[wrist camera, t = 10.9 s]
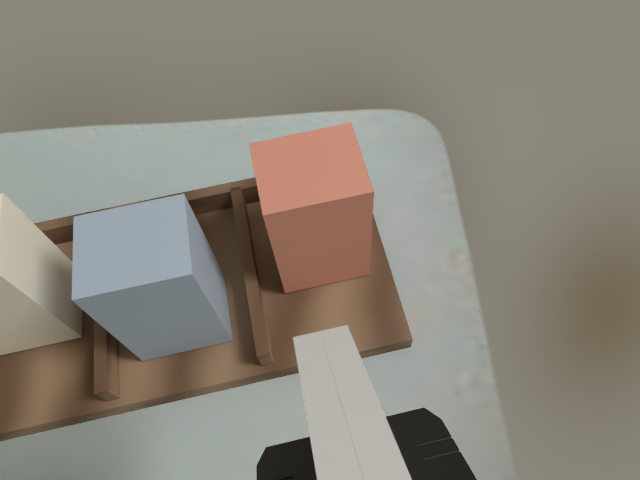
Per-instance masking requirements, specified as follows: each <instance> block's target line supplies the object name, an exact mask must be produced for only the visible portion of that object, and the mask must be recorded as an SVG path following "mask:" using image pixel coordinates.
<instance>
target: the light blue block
mask: <svg viewBox="0 0 640 480" xmlns="http://www.w3.org/2000/svg"><path fill="white" fill-rule="evenodd" d="M72 301H73V302H74V303H75V304H77V305H78V306H79V307H80V308H81V309H82V310H84V311H85V312H86V313H87V314H88V315H89V316H91V317H92V318H93V319H94V320H95V321H96V322H98V323H99V324H100V325H101V326H102V327H103V328H105V329H106V330H107V331H108V332H109V333H110V334H112V335H113V336H114V337H115V338H116V339H117V340H119V341H120V342H121V343H122V344H123V345H124V346H126V347H127V348H128V349H129V350H130V351H131V352H133V353H134V354H135V355H136V356H137V357H138V358H140V359H141V360H142V361H145V360H150V359H154V358H158V357H163V356H167V355H172V354H176V353H181V352H185V351H190V350H194V349H198V348H203V347H207V346H212V345H216V344H221V343H225V342H230V341H233V337H232V330H231V323H230V315H229V308H228V301H227V293H226V286H225V279H224V274H223V272H222V270H221V268H220V266H219V263H218V261H217V259H216V257H215V255H214V253H213V251H212V249H211V247H210V245H209V243H208V241H207V239H206V237H205V235H204V233H203V231H202V229H201V227H200V225H199V223H198V221H197V219H196V217H195V215H194V213H193V211H192V209H191V207H190V205H189V203H188V201H187V199H186V197H185V194H180V195H175V196H170V197H165V198H160V199H156V200H151V201H146V202H141V203H136V204H132V205H127V206H122V207H117V208H113V209H108V210H103V211H98V212H93V213H89V214H84V215H79V216H74V220H73V261H72Z"/></svg>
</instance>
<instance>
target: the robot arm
mask: <svg viewBox="0 0 640 480" xmlns="http://www.w3.org/2000/svg"><path fill="white" fill-rule="evenodd" d="M293 341H294V347H295V353H296V358H297V364H298V370H299V376H300V382H301V388H302V394H303V400H304V405H305V411H306V417H307V423H308V429H309V435H310V437H307V438H303V439H299V440H295V441H291V442H286V443H282V444H278V445H274V446H270V447H266V448H265V450H264V452H263V454H262V456H261V458H260V460H259V462H258V464H257V480H477V479H476V478H475V476H474V474H473V473H472V471H471V469H470V467H469V466H468V464H467V462H466V461H465V459H464V457H463V455H462V454H461V452H459V449H458V447H457V445H456V444H455V442H454V440H453V439H452V438H451V435H450V433H449V432H448V430H447V428H446V426H445V425H444V423H443V421H442V420H441V419H440V418H439V417H437V416H436V415H434V414H433V413H431V412H430V411H428V410H427V409H425V408H421V409H417V410H412V411H408V412H404V413H400V414H396V415H392V416H387V417H386V416H385V414H384V412H383V409H382V407H381V404H380V402H379V400H378V397H377V395H376V392H375V390H374V388H373V385H372V383H371V380H370V378H369V376H368V373H367V371H366V368H365V366H364V364H363V361H362V359H361V356H360V354H359V352H358V349H357V347H356V344H355V342H354V340H353V337H352V335H351V333H350V330H349V328H348V325H344V326H340V327H336V328H331V329H327V330H322V331H318V332H314V333H309V334H305V335H300V336H296V337H293Z"/></svg>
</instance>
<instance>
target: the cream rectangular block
mask: <svg viewBox="0 0 640 480" xmlns="http://www.w3.org/2000/svg"><path fill="white" fill-rule="evenodd" d="M81 337H82V309H81V308H80V307H79V306H78V305H77V304H75V303H74V302H73V301H72V261H71V260H70V259H69V258H68V257H67V256H66V255H65V254H64V253H63V252H62V251H61V250H60V249H59V248H58V247H57V246H56V245H55V244H54V243H53V242H52V241H51V240H50V239H49V238H48V237H47V236H46V235H45V234H44V233H43V232H42V231H41V230H40V229H39V228H38V227H37V226H36V225H35V224H34V223H33V222H32V221H31V220H30V219H29V218H28V217H27V216H26V215H25V214H24V213H22V212H21V211H20V210H19V209H18V208H17V207H16V206H15V205H14V204H13V203H12V202H11V201H10V200H9V199H8V198H7V197H6V196H5V195H4V194H3V193H1V194H0V355H4V354H9V353H13V352H18V351H22V350H27V349H31V348H36V347H40V346H45V345H49V344H54V343H58V342H63V341H67V340H72V339H77V338H81Z"/></svg>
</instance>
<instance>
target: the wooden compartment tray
mask: <svg viewBox="0 0 640 480" xmlns="http://www.w3.org/2000/svg"><path fill="white" fill-rule="evenodd" d="M180 194H185V197H186V199H187V201H188V203H189V205H190V207H191V209H192V211H193V213H194V215H195V217H196V219H197V221H198V223H199V225H200V227H201V229H202V231H203V233H204V235H205V237H206V239H207V241H208V243H209V245H210V247H211V249H212V251H213V253H214V255H215V257H216V259H217V261H218V263H219V266H220V268H221V270H222V272H223V274H224V279H225V286H226V293H227V301H228V308H229V315H230V323H231V330H232V337H233V341H230V342H225V343H221V344H216V345H212V346H207V347H203V348H198V349H194V350H190V351H185V352H181V353H176V354H172V355H167V356H163V357H158V358H154V359H150V360H145V361H142V360H141V359H140V358H138V357H137V356H136V355H135V354H134V353H133V352H131V351H130V350H129V349H128V348H127V347H126V346H124V345H123V344H122V343H121V342H120V341H119V340H117V339H116V338H115V337H114V336H113V335H112V334H110V333H109V332H108V331H107V330H106V329H105V328H103V327H102V326H101V325H100V324H99V323H98V322H96V321H95V320H94V319H93V318H92V317H91V316H89V315H88V314H87V313H86V312H85V311H84V310H82V337H81V338H77V339H72V340H67V341H63V342H58V343H54V344H49V345H45V346H40V347H36V348H31V349H27V350H22V351H18V352H13V353H9V354H4V355H0V441H3V440H7V439H12V438H16V437H20V436H25V435H29V434H33V433H38V432H42V431H46V430H51V429H55V428H60V427H64V426H68V425H73V424H77V423H81V422H86V421H90V420H94V419H99V418H103V417H107V416H112V415H116V414H121V413H125V412H129V411H134V410H138V409H142V408H147V407H151V406H155V405H160V404H164V403H168V402H173V401H177V400H182V399H186V398H190V397H195V396H199V395H203V394H208V393H212V392H216V391H221V390H225V389H229V388H234V387H238V386H242V385H247V384H251V383H256V382H260V381H264V380H269V379H273V378H277V377H282V376H286V375H290V374H295V373H299V370H298V364H297V358H296V353H295V347H294V341H293V337H296V336H300V335H305V334H309V333H314V332H318V331H322V330H327V329H331V328H336V327H340V326H344V325H348V328H349V330H350V333H351V335H352V337H353V340H354V342H355V344H356V347H357V349H358V352H359V354H360V356H361V358H364V357H369V356H373V355H378V354H382V353H386V352H391V351H395V350H399V349H404V348H408V347H411V343H412V340H413V339H412V336H411V333H410V330H409V327H408V324H407V320H406V317H405V314H404V311H403V308H402V305H401V301H400V298H399V295H398V292H397V289H396V286H395V282H394V279H393V276H392V273H391V270H390V267H389V263H388V260H387V257H386V254H385V251H384V248H383V244H382V241H381V238H380V235H379V232H378V229H377V226H376V222H375V219H374V216H373V218H372V239H371V260H370V275H366V276H361V277H357V278H352V279H348V280H343V281H338V282H334V283H329V284H325V285H320V286H316V287H311V288H307V289H302V290H298V291H293V292H289V293H285V292H284V288H283V285H282V281H281V278H280V274H279V271H278V267H277V264H276V260H275V257H274V253H273V250H272V246H271V243H270V239H269V236H268V232H267V229H266V225H265V222H264V218H263V214H262V209H261V204H260V199H259V193H258V188H257V183H256V178H250V179H245V180H240V181H236V182H231V183H226V184H221V185H216V186H212V187H207V188H202V189H197V190H192V191H188V192H183V193H178V194H173V195H168V196H164V197H159V198H154V199H149V200H145V201H140V202H135V203H130V204H125V205H121V206H116V207H111V208H106V209H101V210H97V211H92V212H87V213H82V214H77V215H73V216H68V217H63V218H58V219H54V220H49V221H44V222H39V223H34V224H35V225H36V226H37V227H38V228H39V229H40V230H41V231H42V232H43V233H44V234H45V235H46V236H47V237H48V238H49V239H50V240H51V241H52V242H53V243H54V244H55V245H56V246H57V247H58V248H59V249H60V250H61V251H62V252H63V253H64V254H65V255H66V256H67V257H68V258H69V259H70V260H71V261H73V220H74V216H79V215H84V214H89V213H93V212H98V211H103V210H108V209H113V208H117V207H122V206H127V205H132V204H136V203H141V202H146V201H151V200H156V199H160V198H165V197H170V196H175V195H180Z"/></svg>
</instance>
